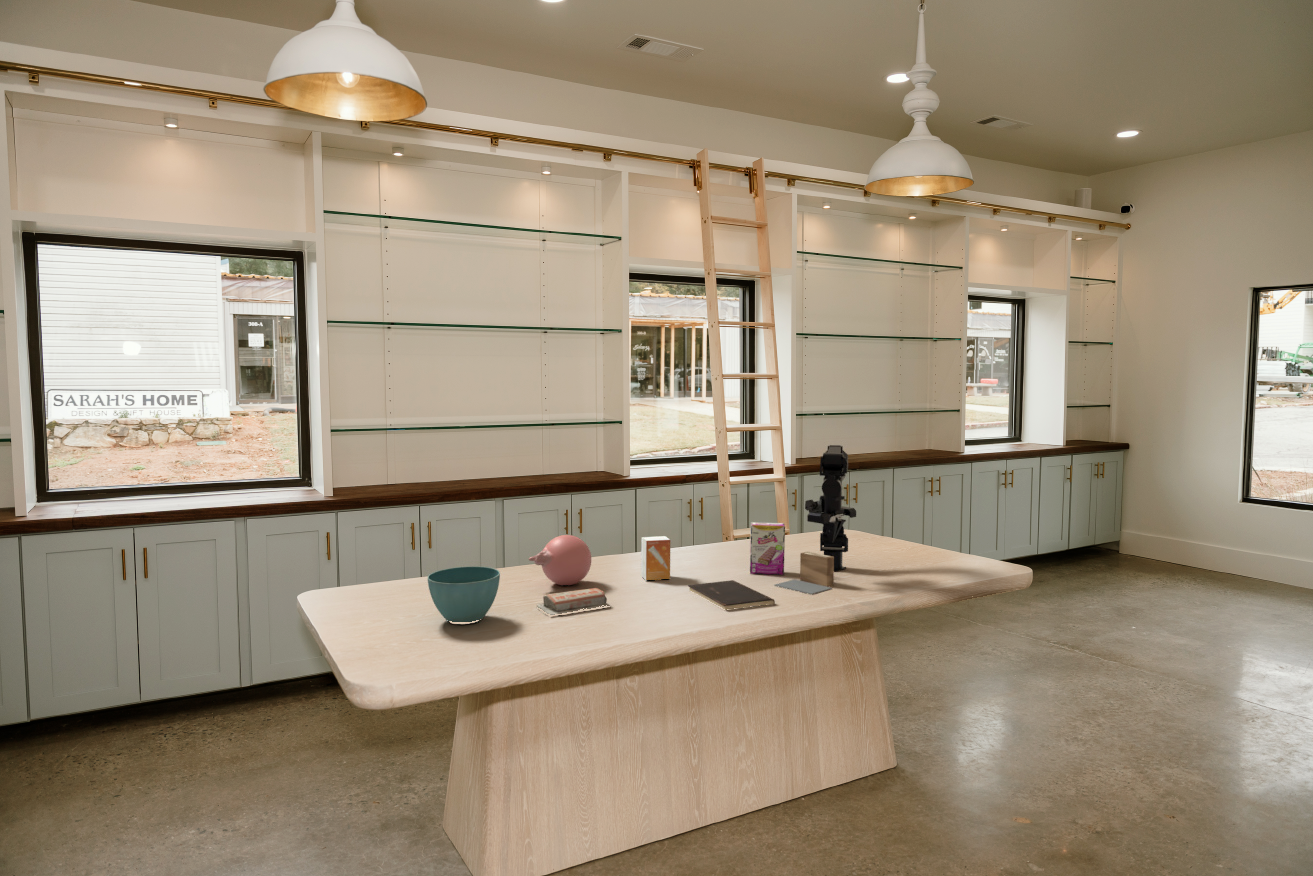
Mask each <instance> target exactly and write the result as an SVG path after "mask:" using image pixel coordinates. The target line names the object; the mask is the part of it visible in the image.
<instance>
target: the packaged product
mask: <svg viewBox="0 0 1313 876" xmlns="http://www.w3.org/2000/svg"><path fill="white" fill-rule="evenodd" d="M542 598H543V602H542V603H536V608H537V607H538V608H540V609H542V610H543V611H544V612H546V613H547V614H550V615H555V614H562V613H567V612H573V611H578V610H580V609H583V608H584V609H586V608H587V609H591V608H596V607H599V606H600V607H601V606H602V605H604V606H606V605H607V606H610V607H611V604H608V602H607V601H608V598H607V596H606V594H605V592H604V591H603V590H601V589H599V588H598V587H594V588H587V589H586V588H585V589H578V590H577V589H576V590H570V591H564V592H556V593H555V592H554V593H548V594H545V595H544V596H543V597H542ZM604 606H602V607H604ZM584 609H583V610H584Z"/></svg>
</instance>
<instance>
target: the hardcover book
mask: <svg viewBox="0 0 1313 876" xmlns="http://www.w3.org/2000/svg"><path fill="white" fill-rule="evenodd" d="M687 586H688V588H689V592H690V591H692V592H694V593H696V594H698V595H700V596H701V597H703V598H705V599H707V600H709V601H710V602H712V603H714V604H716V605H718V606H720V607H722V608H723V609H725V610H727V609H734V608H743V607H750V606H759V605H766V604H776V603H775V602H776V601H775V599H774V598H772V597H770V596H768V595H766V594H764V593H761V592H760V591H757V590H754V589H753V588H751V587H749V586H746V585H744V584H743V583H740V582H737V581H736V580H734V579H733V580H732V579H731V580H723V581H715V582H714V581H712V582H704V583H695V584H688V585H687ZM692 592H691V593H692ZM694 593H693V594H694ZM696 594H695V595H696ZM698 595H697V596H698ZM701 597H700V598H701ZM703 598H702V599H703ZM705 599H704V600H705ZM707 600H706V601H707ZM710 602H709V603H710ZM712 603H711V604H712ZM714 604H713V605H714ZM716 605H715V606H716ZM723 609H722V610H723ZM725 610H724V611H725Z"/></svg>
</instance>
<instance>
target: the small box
mask: <svg viewBox="0 0 1313 876" xmlns="http://www.w3.org/2000/svg"><path fill="white" fill-rule="evenodd" d="M640 554H641V558H640V560H641V561H640V562H641V564H640V565H641V566H640V567H641V568H640V570H641V575H640V576H642V577H643V578H644V579H645V580H655V581H662V580H661V579H670V580H671V539H670V538H668V537H667V536H666V535H663V536H662V535H661V536H659V535H657V536H643V537H642V536H641V553H640ZM642 577H641V578H642ZM643 578H642V579H643ZM644 579H643V580H644ZM645 580H644V581H645Z"/></svg>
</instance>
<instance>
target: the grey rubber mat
mask: <svg viewBox="0 0 1313 876" xmlns="http://www.w3.org/2000/svg"><path fill="white" fill-rule="evenodd" d="M773 585H774V586H775V587H778V586H779V587H778V588H782V587H783V589H786V588H787V590H790V589H791V591H794V590H795V592H798V591H800V592H799V593H803V592H804V593H803V594H807V593H808V595H811V594H812V595H815V594H814V593H816V594H818V592H819V593H821V592H822V591H823V592H825V591H830V590H832V589H833V587H831V586H830V587H826V586H822V585H817V584H813V583H808V582H804V581H800V579H791V580H788V581H783V582H778V583H776V584H773Z"/></svg>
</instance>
